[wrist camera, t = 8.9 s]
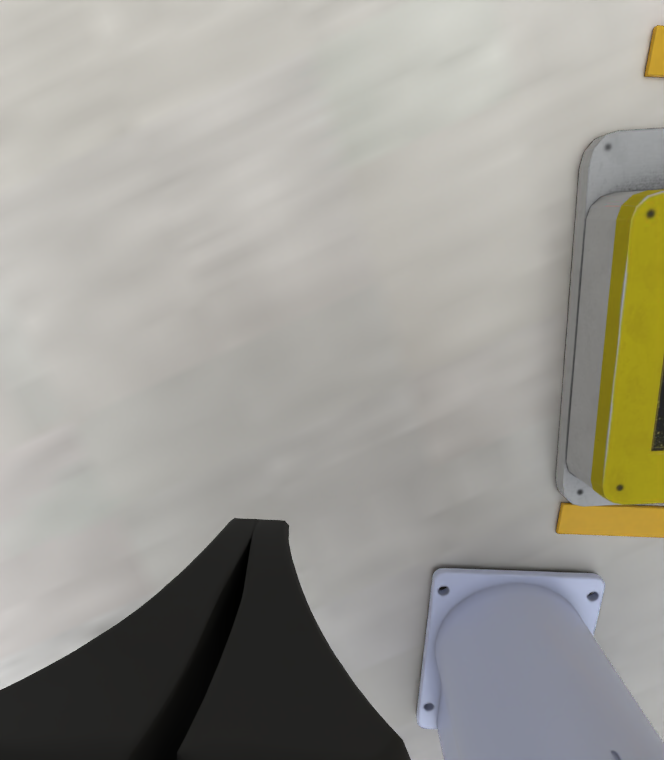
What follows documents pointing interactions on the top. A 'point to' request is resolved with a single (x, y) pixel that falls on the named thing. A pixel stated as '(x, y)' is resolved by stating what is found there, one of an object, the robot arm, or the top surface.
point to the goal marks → (620, 517)
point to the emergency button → (616, 327)
